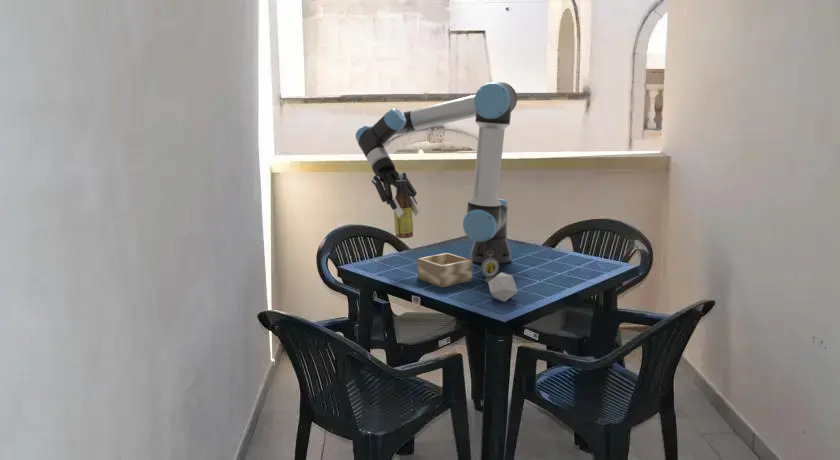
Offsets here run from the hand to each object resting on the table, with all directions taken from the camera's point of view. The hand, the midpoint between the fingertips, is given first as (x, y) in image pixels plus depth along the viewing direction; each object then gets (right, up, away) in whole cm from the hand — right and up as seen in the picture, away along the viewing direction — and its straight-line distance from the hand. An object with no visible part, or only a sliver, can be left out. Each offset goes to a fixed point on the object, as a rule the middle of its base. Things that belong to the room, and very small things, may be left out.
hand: (409, 214), depth 231 cm
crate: (+12, -22, -4) cm, 25 cm away
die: (+29, -27, -25) cm, 47 cm away
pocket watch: (+28, -23, -7) cm, 37 cm away
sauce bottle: (-2, -8, +5) cm, 9 cm away
